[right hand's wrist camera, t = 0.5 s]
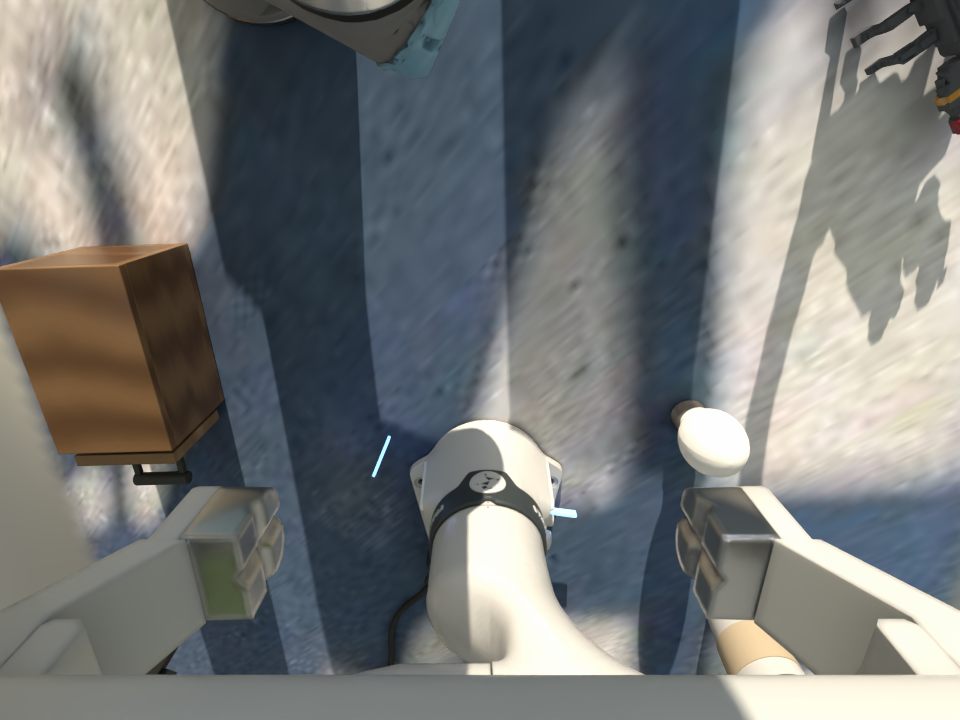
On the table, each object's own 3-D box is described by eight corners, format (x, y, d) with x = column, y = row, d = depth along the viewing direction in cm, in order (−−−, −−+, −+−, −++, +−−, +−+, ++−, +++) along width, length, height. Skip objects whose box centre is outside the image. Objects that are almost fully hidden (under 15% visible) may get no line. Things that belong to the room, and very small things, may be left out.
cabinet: (224, 399, 62) (172, 451, 51) (130, 402, 62) (58, 454, 51) (187, 243, 55) (118, 265, 45) (81, 246, 55) (-13, 269, 45)
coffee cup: (689, 606, 74) (739, 712, 60) (751, 580, 72) (817, 684, 58) (713, 646, 76) (765, 757, 63) (773, 623, 75) (841, 731, 61)
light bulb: (655, 435, 64) (688, 490, 53) (667, 384, 61) (705, 432, 51) (710, 440, 64) (754, 495, 54) (724, 389, 61) (773, 437, 51)
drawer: (229, 457, 64) (188, 506, 55) (147, 459, 64) (93, 509, 55) (184, 275, 55) (128, 299, 47) (90, 278, 56) (16, 303, 47)
